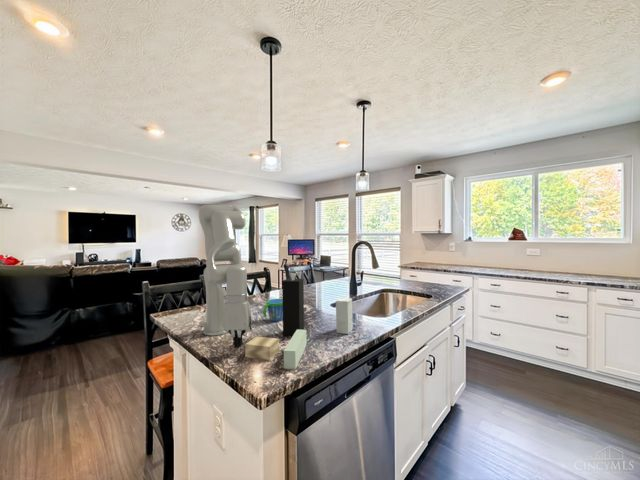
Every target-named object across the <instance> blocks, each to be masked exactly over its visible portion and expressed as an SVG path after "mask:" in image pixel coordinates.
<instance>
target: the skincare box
mask: <svg viewBox="0 0 640 480" xmlns="http://www.w3.org/2000/svg"><path fill="white" fill-rule="evenodd" d="M335 316H336V318H335V319H336V320H335V323H336V324H335V325H336V334H343V335H349V334H350V333H351V331H352V330H353V329H354V324H353V323H354V322H353V318H354V317H353V298H350V297H348V298H346V297H340V298H338V299H337V300H336V301H335Z"/></svg>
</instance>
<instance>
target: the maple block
mask: <svg viewBox="0 0 640 480" xmlns="http://www.w3.org/2000/svg"><path fill="white" fill-rule="evenodd" d="M244 351H245V355H244V356H245V358H249V359H250V358H251V359H259V360H267V361H270V360H272V359H273V358H274V357H275V356H276V355H277V354H278V353H279V352H280V338H275V337H274V338H273V337H267V336H255V337H253V338H252V339H250V340H249V341H248V342H246V343H245V344H244Z"/></svg>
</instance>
